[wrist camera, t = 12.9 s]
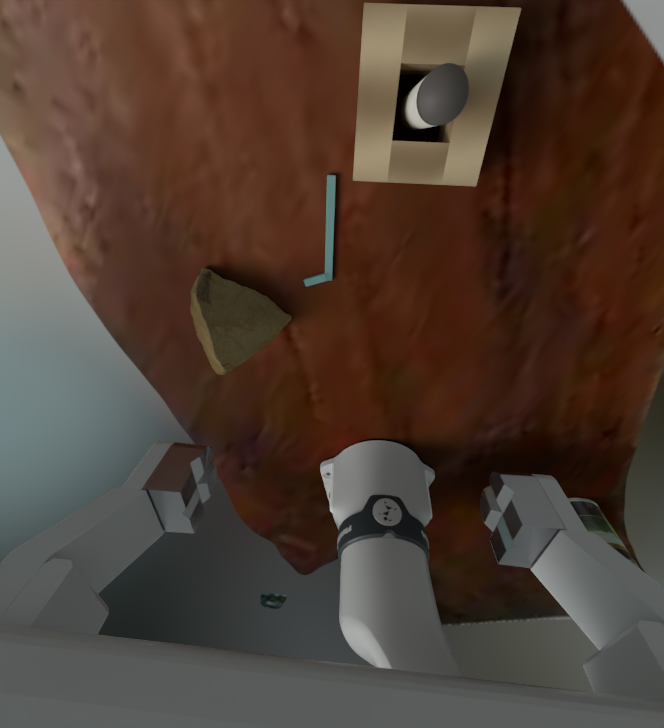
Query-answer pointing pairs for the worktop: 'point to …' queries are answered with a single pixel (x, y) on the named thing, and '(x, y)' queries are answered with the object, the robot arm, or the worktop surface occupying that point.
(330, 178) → the hex key
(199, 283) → the rock
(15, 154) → the worktop surface
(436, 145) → the wooden block with hole
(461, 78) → the long grey cylinder
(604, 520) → the coffee can
